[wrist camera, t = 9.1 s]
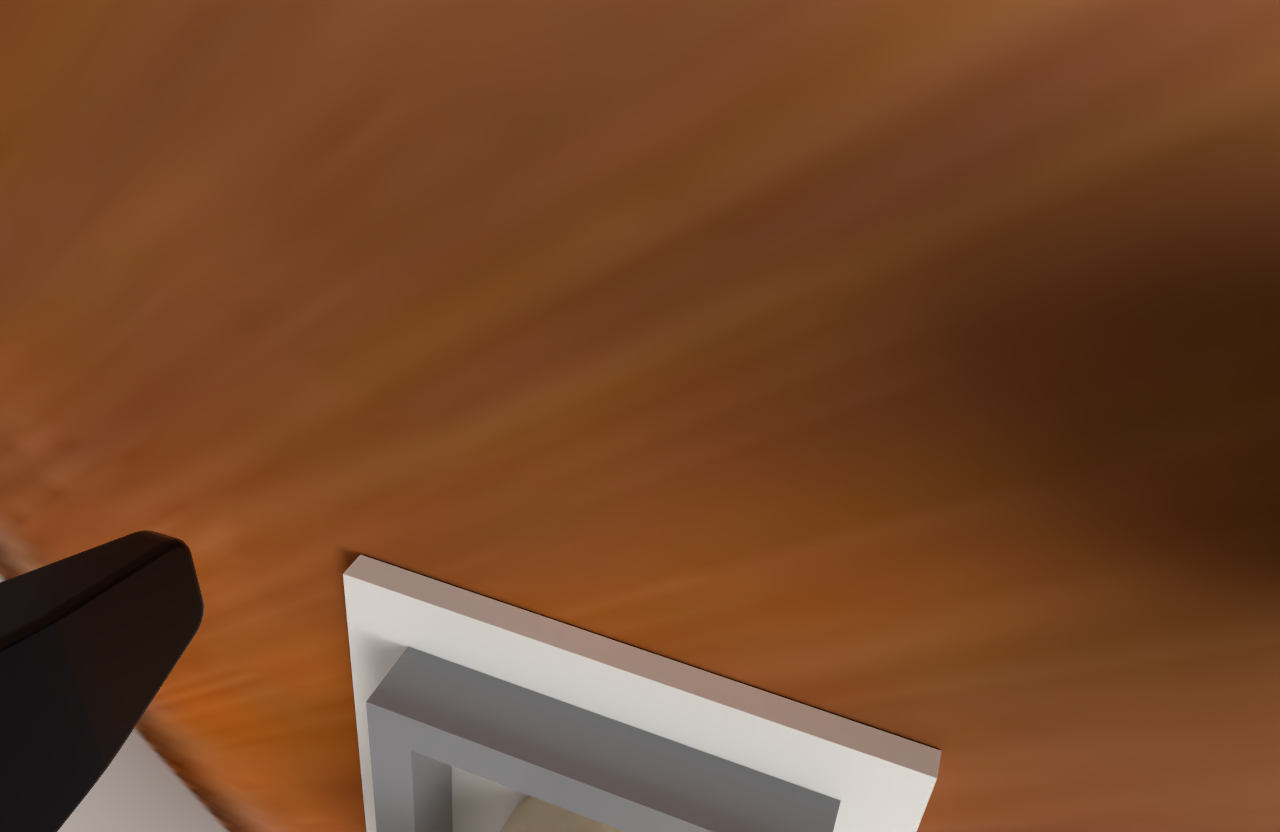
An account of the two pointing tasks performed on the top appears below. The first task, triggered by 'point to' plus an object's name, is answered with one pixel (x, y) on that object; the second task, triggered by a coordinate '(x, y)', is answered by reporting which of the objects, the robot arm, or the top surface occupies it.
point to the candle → (550, 819)
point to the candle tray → (592, 728)
